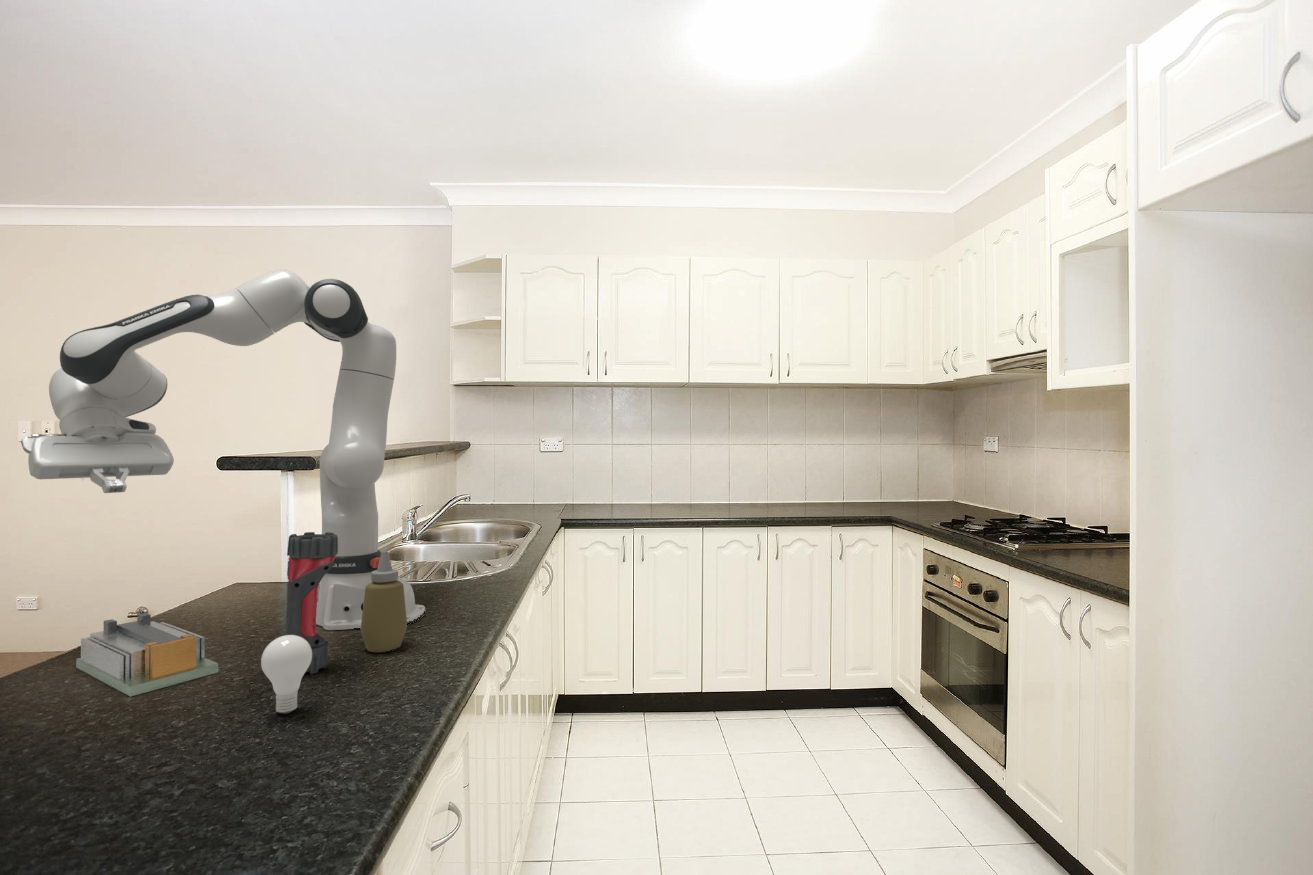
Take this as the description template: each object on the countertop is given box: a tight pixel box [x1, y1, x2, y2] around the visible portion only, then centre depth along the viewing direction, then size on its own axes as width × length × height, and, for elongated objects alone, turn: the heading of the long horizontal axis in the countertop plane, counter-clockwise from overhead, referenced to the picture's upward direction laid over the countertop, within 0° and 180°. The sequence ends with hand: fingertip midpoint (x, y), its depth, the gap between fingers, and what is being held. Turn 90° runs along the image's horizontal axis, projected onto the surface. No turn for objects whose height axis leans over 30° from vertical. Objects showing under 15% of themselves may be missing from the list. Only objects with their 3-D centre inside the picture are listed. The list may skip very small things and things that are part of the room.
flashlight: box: [283, 531, 338, 675], centre depth 109 cm, size 8×8×23 cm
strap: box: [117, 620, 182, 644], centre depth 108 cm, size 18×3×1 cm, turn 58°
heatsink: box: [75, 612, 219, 697], centre depth 108 cm, size 22×12×8 cm, turn 58°
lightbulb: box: [260, 634, 312, 715], centre depth 92 cm, size 6×6×11 cm
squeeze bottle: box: [360, 550, 408, 653], centre depth 120 cm, size 8×8×18 cm
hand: (115, 490), depth 115 cm, fingers closed
